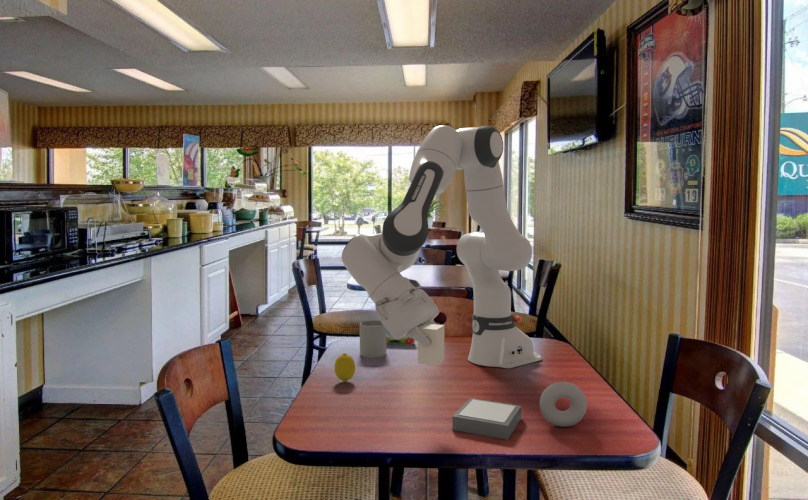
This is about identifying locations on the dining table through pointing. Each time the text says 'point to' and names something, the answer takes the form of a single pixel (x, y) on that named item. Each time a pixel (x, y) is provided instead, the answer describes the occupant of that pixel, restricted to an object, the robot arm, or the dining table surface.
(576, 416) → the donut
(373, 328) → the cup
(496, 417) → the charcoal base
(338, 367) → the lemon
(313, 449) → the dining table surface
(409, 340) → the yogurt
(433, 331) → the cream block
